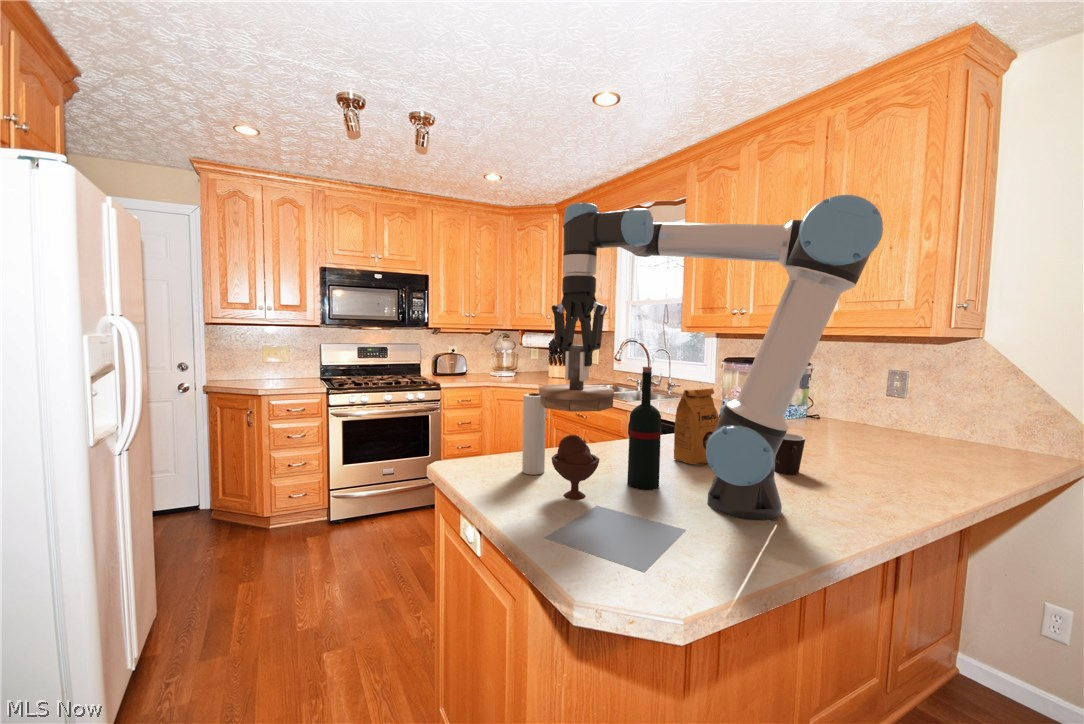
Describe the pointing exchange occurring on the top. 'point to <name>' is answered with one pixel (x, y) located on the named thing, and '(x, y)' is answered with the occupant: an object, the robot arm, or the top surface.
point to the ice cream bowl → (574, 464)
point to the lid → (576, 391)
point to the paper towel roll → (533, 434)
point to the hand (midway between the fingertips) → (576, 379)
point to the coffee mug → (789, 454)
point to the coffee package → (694, 425)
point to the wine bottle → (644, 440)
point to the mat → (618, 537)
